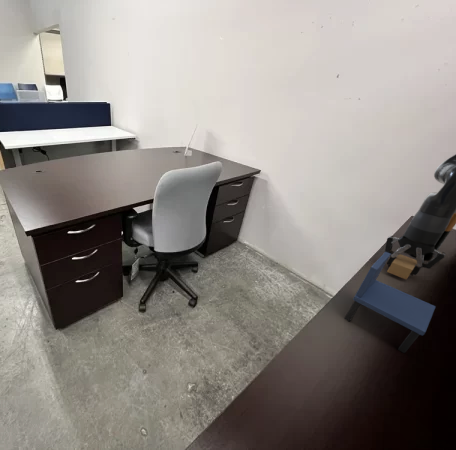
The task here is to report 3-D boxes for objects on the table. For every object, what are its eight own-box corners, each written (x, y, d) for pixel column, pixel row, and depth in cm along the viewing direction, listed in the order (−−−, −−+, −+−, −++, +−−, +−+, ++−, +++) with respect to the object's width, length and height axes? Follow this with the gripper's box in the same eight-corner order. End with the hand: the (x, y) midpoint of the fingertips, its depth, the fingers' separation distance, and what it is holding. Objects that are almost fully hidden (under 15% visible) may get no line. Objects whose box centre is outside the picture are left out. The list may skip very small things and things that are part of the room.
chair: (418, 328, 62) (458, 277, 54) (406, 355, 55) (450, 301, 47) (358, 298, 71) (385, 250, 64) (342, 318, 64) (370, 267, 57)
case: (412, 270, 83) (418, 260, 81) (406, 279, 78) (412, 269, 77) (393, 263, 87) (399, 253, 85) (386, 271, 82) (392, 262, 80)
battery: (431, 256, 94) (462, 209, 85) (431, 263, 90) (464, 214, 81) (406, 248, 99) (434, 203, 90) (405, 254, 94) (434, 208, 85)
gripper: (462, 232, 72) (431, 277, 79) (399, 215, 82) (377, 256, 90) (459, 239, 68) (427, 286, 75) (393, 220, 78) (371, 263, 85)
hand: (400, 269), depth 82 cm, fingers closed on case, 5 cm apart
